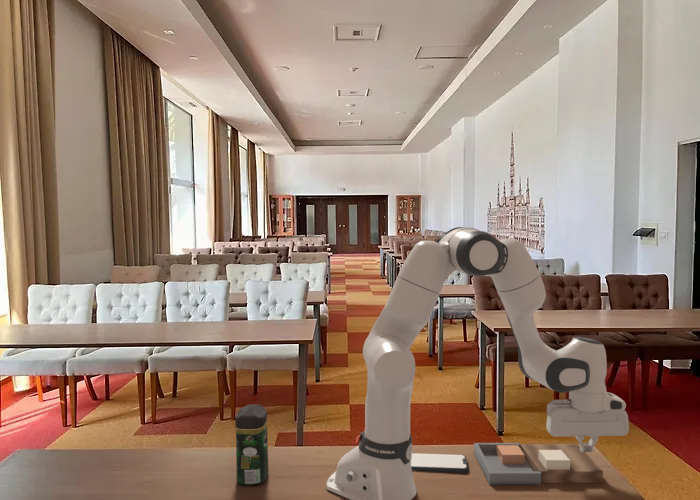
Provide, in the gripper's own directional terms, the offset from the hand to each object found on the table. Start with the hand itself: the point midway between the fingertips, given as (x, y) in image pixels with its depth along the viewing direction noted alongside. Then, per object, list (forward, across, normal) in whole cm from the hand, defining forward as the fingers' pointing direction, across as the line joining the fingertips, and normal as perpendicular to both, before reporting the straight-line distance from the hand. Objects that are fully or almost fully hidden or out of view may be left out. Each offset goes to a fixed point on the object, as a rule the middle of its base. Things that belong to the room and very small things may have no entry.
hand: (586, 451), depth 142 cm
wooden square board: (+6, -6, +4) cm, 9 cm away
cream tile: (+3, -8, 0) cm, 9 cm away
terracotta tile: (+6, -18, +8) cm, 20 cm away
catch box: (+6, -20, +4) cm, 21 cm away
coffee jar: (+6, -87, -2) cm, 87 cm away
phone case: (+7, -38, +6) cm, 39 cm away
